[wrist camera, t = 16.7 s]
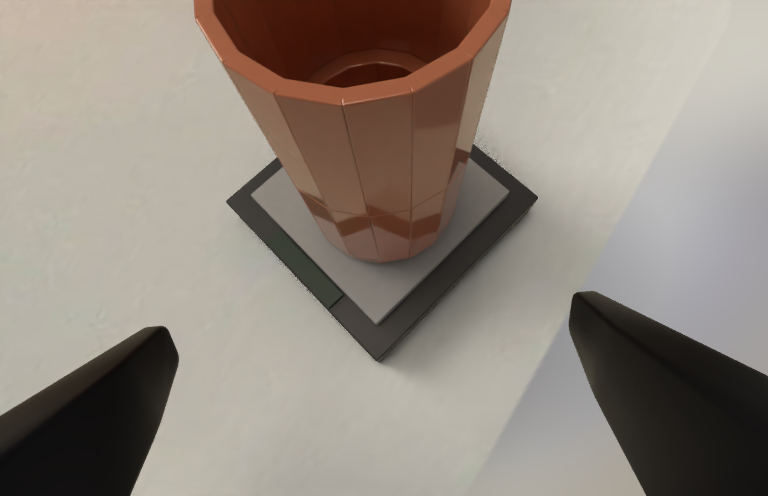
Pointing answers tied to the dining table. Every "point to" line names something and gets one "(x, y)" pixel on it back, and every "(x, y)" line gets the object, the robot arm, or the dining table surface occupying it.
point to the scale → (390, 279)
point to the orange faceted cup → (364, 105)
